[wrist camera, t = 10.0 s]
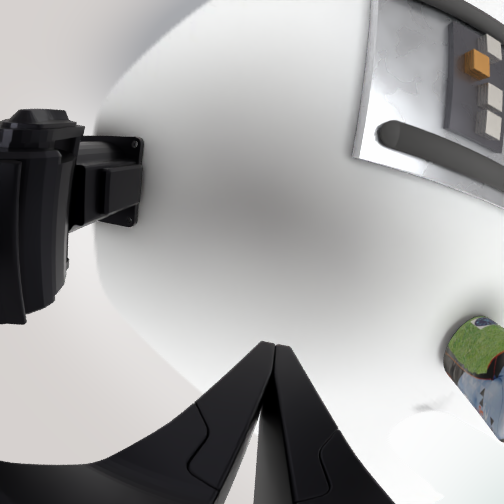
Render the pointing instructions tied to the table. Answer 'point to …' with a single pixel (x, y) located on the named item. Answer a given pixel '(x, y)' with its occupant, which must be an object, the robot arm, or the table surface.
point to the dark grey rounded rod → (442, 152)
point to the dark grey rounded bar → (471, 16)
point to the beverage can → (480, 368)
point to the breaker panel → (432, 90)
